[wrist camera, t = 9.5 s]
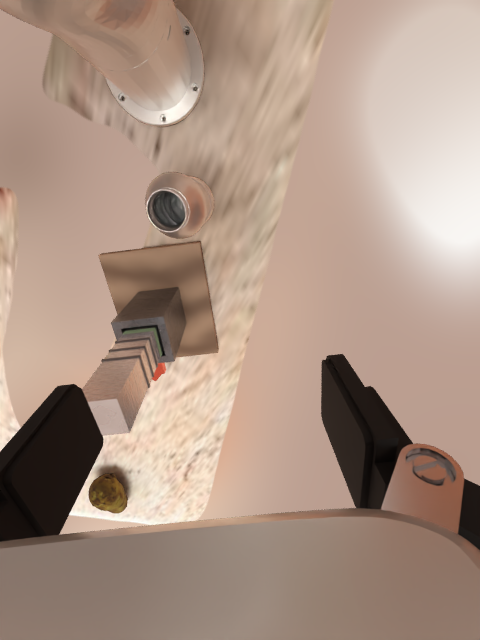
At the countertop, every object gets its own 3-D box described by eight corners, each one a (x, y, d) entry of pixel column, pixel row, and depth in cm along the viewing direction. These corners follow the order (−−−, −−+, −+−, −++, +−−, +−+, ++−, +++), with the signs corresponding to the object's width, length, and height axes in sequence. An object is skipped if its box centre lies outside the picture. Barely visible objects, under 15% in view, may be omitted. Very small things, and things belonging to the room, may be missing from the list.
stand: (102, 253, 46) (55, 277, 34) (200, 241, 46) (189, 261, 34) (135, 357, 55) (107, 407, 43) (218, 348, 54) (214, 395, 42)
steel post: (136, 312, 42) (69, 403, 25) (164, 309, 42) (117, 397, 25) (144, 337, 44) (86, 438, 27) (171, 334, 44) (130, 433, 26)
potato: (95, 494, 71) (80, 529, 64) (99, 459, 66) (83, 492, 59) (129, 499, 72) (118, 534, 65) (136, 464, 67) (124, 498, 60)
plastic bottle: (188, 232, 45) (159, 262, 27) (162, 191, 43) (112, 194, 25) (223, 210, 44) (217, 227, 26) (199, 167, 42) (175, 152, 23)
